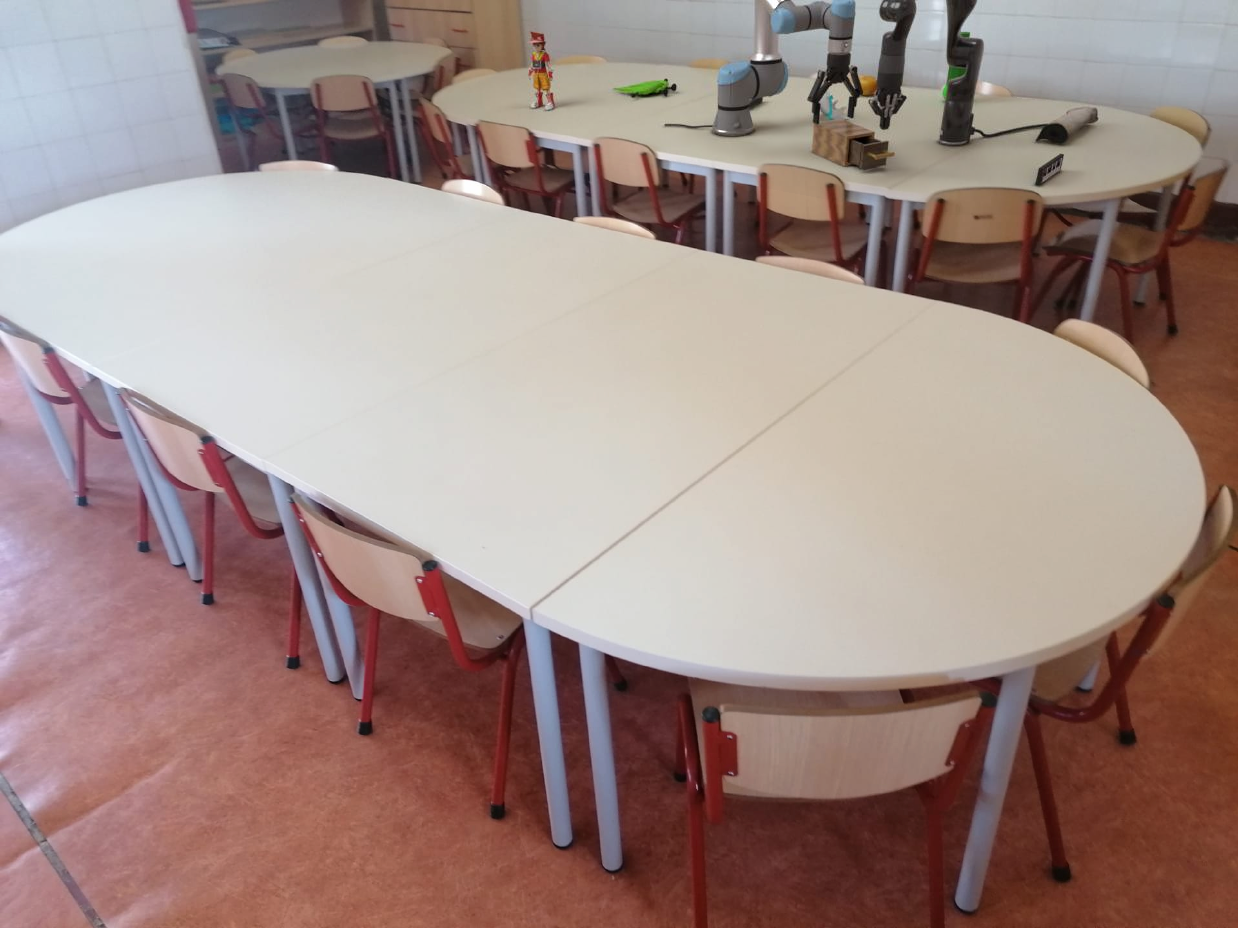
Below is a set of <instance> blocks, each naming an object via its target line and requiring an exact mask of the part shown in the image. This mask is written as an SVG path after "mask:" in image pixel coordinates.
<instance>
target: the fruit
mask: <svg viewBox="0 0 1238 928" xmlns="http://www.w3.org/2000/svg"><path fill="white" fill-rule="evenodd" d="M859 80H860V83H861V86H862V90H863V94H862V95H861V96H871V95H872V96H873V95H875V93H876V91H877V78H875V77H873V76H870V75H868V76H862V77H860V78H859Z"/></svg>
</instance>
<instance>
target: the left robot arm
mask: <svg viewBox="0 0 1238 928" xmlns="http://www.w3.org/2000/svg"><path fill="white" fill-rule="evenodd" d="M855 17H856V0H832V1H831V3H830V2H826V1H823V0H821V1H819V0H815V1H813V2H811V3H810V4H805V5H803V4H802V5H796V4H795V3H794V2H793V1H792V0H754V40H753V41H754V43H753V44H754V51H753V52H754V53H753V54H752V56H751V57H750V59H749V61H733V62H729V63H726V64H724V65H723V66H721V67H720V68H719V70H718V75H717V111H716V114H715V118H714V120H713V124H707V125H705V124H704V125H688V124H682V123H664V127H684V128H689V129H702V128H712V133H713V134H715V135H717V136H721V137H741V136H746V135H750V134H752V133H754V127H755V126H754V122H753V118H752V115H751V111H750V109H749V100H750V99H756V98H761V97H763V98H767V97H769V98H770V97H773V96H776V95H780V94H781V93H782V92H783V91H784V89H786V87H787V84H788V82H789V68H788V65H787V63H786V62H785V60H783V55H781V53H780V52H779V35H790V34H795V33H799V32H801V33H802V32H807V31H814V30H827V31H829V32H828V41H827V42H828V43H827V52H828V53H827V54H826V56H827V57H826V70H821V69H819V70H818V71H817V74H816V79H815V80H814V83H813V86H812V87H811V90H810V92H809V94H808V96H807V99H806V100H807V102H809V103H811V113H812V115H813V116H812V123H813V124H814V123H815V124H819V122H820V116H821V109H820V106H821V104H820V103H819V101H820V100H821V98H822V97H824V96H825V94H826V92H828V90H829V88H830V87H832V86H833V85H836V84H843V85H844V87H845V88H846V90H847V91H848V93H849V94H850V96H849V97H848V103H847V113H846V114H847V115H846V117H849V118H850V119H854V118H855V108H856V107H857V104H858V99H859V98H860V97H861V96H863V95H862V94H863V90H862V86H861V83H860V77H859V74H858V67H857V66H856V65H853V64H852V65H851V59H852V53H851V52H852V48H853V39H854V28H855V21H856V20H855V19H856V18H855ZM849 74H850V77H851V80H850V78H849V76H848V75H849ZM851 81H852V82H851Z"/></svg>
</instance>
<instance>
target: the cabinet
mask: <svg viewBox="0 0 1238 928" xmlns="http://www.w3.org/2000/svg"><path fill="white" fill-rule="evenodd" d="M875 134H876V132H875V131H874V130H871V129H868V128H866V127H864V126H861V125H858V124H856V123H853V122H850V121H849V120H843V119H835V120H829V119H828V120H825V121H824V120H823V121H819V124H815V123H813V131H812V145H811V152H812V153H814V154H816V155H818V156H820V157H823V158H824V159H827V160H829V161H832V162H834V163H835V164H838V165H840V166H842V167H849V166H854V165H856V164H853V163H851V162H849V161H847V160H848V149H849V139H854V138H859V137H865V136H870V137H873V138H875Z"/></svg>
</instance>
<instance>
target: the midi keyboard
mask: <svg viewBox="0 0 1238 928" xmlns="http://www.w3.org/2000/svg"><path fill="white" fill-rule="evenodd" d="M1064 157H1065V153H1059V154H1058V155H1056V156H1055V157H1052V159H1051V160H1049V161H1047V162H1045V164H1042V165H1041V166H1039V167H1038V169H1037V175H1036V179H1035V186H1040V185H1042V183H1044V182H1045V181H1047V180H1048V179H1049V178H1051V177H1052V176H1054V175H1055V174H1056V173H1058V172H1060V171H1061V170H1062V165H1063V161H1064Z"/></svg>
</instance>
